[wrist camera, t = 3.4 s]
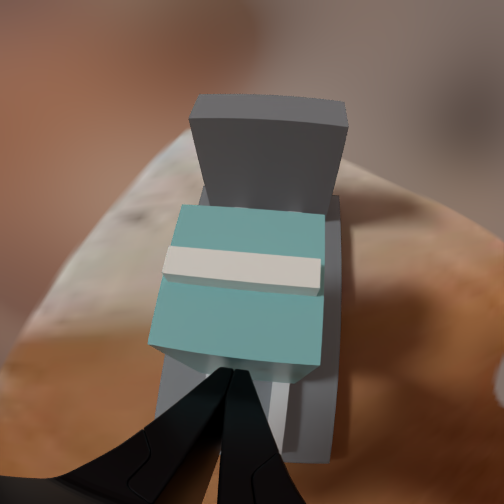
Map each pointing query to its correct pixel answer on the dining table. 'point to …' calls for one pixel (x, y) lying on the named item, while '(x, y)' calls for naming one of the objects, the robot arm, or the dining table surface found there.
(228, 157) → the fader track
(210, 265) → the fader knob
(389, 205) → the dining table surface
